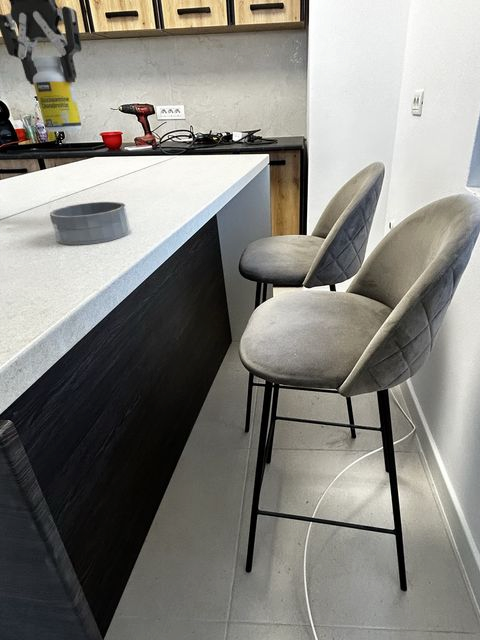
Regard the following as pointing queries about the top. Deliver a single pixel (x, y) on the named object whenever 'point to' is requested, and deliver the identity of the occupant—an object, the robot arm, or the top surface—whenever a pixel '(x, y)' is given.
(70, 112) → the pill bottle
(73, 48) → the robot arm
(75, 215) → the dish
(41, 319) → the top surface
